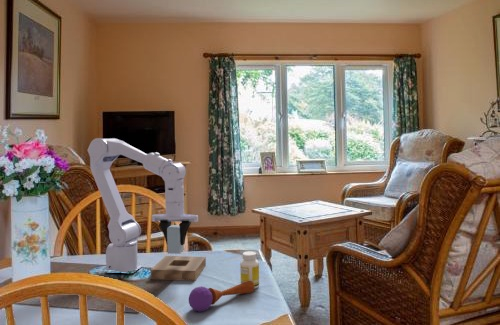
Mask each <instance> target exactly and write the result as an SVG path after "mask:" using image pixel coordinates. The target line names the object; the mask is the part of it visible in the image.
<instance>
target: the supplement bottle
mask: <svg viewBox="0 0 500 325" xmlns="http://www.w3.org/2000/svg"><path fill="white" fill-rule="evenodd" d="M239 265H240V269H239V270H240V284H242V283H244V282H247V281H252V282H253V284H254V290H256V289H257V288H259V286H260V263H259V261H258V260H257V253H256V252H255V251H252V250H251V251H249V250H248V251H244V252H243V253H242V260H241V261H240V264H239Z"/></svg>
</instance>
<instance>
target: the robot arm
mask: <svg viewBox="0 0 500 325" xmlns="http://www.w3.org/2000/svg"><path fill="white" fill-rule="evenodd" d="M87 152H88V155H89V165H90V167H89V168H90V171H91V173H92V176H93V178H94V181H95V184H96V186H97V188H98V192H99V193H100V197H101V198H102V202H103V204H104V206H105V209H106V211H107V213H108V216H109V218H110V219H109V222H108V224H107V228H108V238H109V240H110V242H111V243H109V244H108V245H107V247H106V250H105V265H106V267H105V269H106V270H115V271H120V272H128V271H133V270H138V269H139V270H140V269H142V267H143V265H142V264H139V263H138V257H139V256H138V240H139V239H138V238H139V237H140V236H141V233H142V227H141V226H140V224H139V223H138V222H137V221H136V219H135V217H134V216H133V215H132V214H130V213H128V211H127V209H126V207H125V204H124V202H123V199H122V197H121V196H122V195H121V194H120V191H119V189H118V187H117V183H116V182H115V180H114V176H113V175H112V171H111V170H110V168H111V167H112V164H113V162H114V161H115V160H117V159H118V157H119V156H123V157H126V158H128V159H131V160H133V161H136V162H138V163H141V164H142V166H143V168H144V170H147V171H149V172H151V173H152V174H155V175H157V176H159V177H161V178H162V180H163V181H164V190H165V191H164V192H165V194H164V195H165V198H164V199H165V204H164V205H165V213H157V214H156V213H155V214H152V215H151V222H159V224H158V226H159V229H160V230H161V231H162V234H163V237H164V240H165V243H166V245H167V228H168V227H169V226H171V225H172V222H180V223H179V226H180V234H181V240H180V242H181V245H184V246H185V244H186V243H185V242H186V239H187V233H188V230H189V228H190V226H191V225H192V223H198V222H199V215H198V214H189V213H188V214H187V213H185V195H184V194H185V193H184V192H185V190H184V189H185V186H184V179H185V177H187V169H186V167H185V165H184V164H183V163H181V162H179V161H176V162H173V159H171V158H168V159H167V158H166V157H163V156H161V154H160V153H159V152H157V151H156V152H149V153H145V152H144V151H142V150H140V149H139V148H136V147H134V146H132V145H130V144H129V143H127V142H125V141H124V140H121V139H118V138H115V137H112V138H111V137H110V138H101V137H96V138H94V139H93V140H91V141H90V144H89V146H88V148H87ZM110 267H111V268H110ZM139 270H138V271H139Z"/></svg>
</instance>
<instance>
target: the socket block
mask: <svg viewBox="0 0 500 325" xmlns="http://www.w3.org/2000/svg"><path fill="white" fill-rule="evenodd" d="M206 258H207V257H206V256H184V255H183V256H177V255H164V257H162V258H161V260H159V262H157V263H156V264H155V265H154V266H153V267H152V268H151V269H150V279H151V280H164V281H165V280H167V281H169V280H170V281H193V282H194V281H195V282H196V281H197V279H198V277H199V276H200V275H201V273H202V272H203V271H204V269H205V268H206V266H207V265H206V264H207V262H206V260H207V259H206Z"/></svg>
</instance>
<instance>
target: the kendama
mask: <svg viewBox="0 0 500 325" xmlns="http://www.w3.org/2000/svg"><path fill="white" fill-rule="evenodd" d="M254 291H255V289H254V284H253V282H252V281H247V282H244V283H242V284H241V283H240V284H237V285H234V286H232V287H230V288H227V289H225V290H222V291H221V290H218V289H215V288H211V287H205V286H197V287H195V288H194V289H192V290H191V291H190V293H189V295H188V304H189V306H190V307H191V309H192V310H194V311H195V312H199V311H201V312H204V311H207V310H208V309H209V308H210V307H211V306H212V305H215V304H216V303H217V302H218V301H219V300H220V299H221V298H222V297H224V296H231V295H241V294H252V293H253V292H254Z"/></svg>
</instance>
